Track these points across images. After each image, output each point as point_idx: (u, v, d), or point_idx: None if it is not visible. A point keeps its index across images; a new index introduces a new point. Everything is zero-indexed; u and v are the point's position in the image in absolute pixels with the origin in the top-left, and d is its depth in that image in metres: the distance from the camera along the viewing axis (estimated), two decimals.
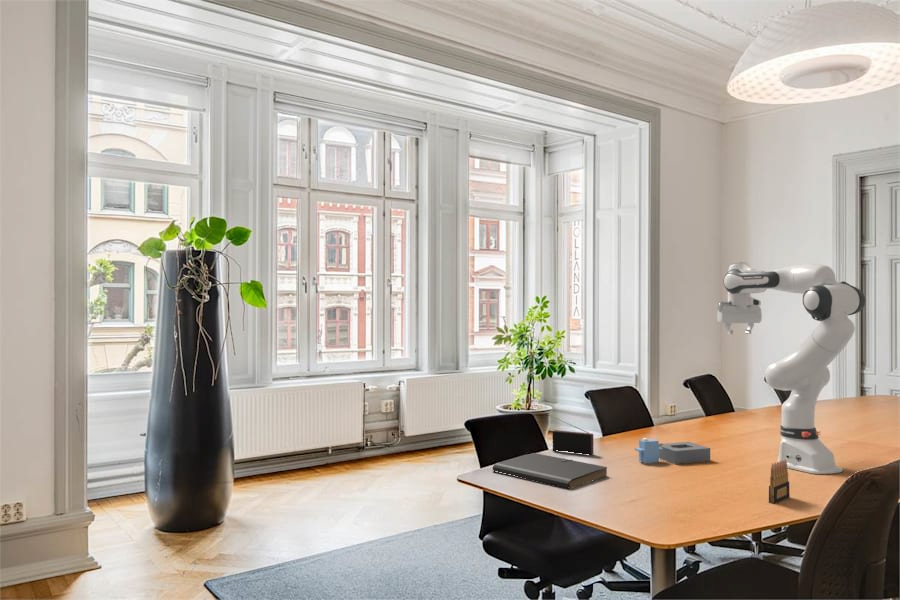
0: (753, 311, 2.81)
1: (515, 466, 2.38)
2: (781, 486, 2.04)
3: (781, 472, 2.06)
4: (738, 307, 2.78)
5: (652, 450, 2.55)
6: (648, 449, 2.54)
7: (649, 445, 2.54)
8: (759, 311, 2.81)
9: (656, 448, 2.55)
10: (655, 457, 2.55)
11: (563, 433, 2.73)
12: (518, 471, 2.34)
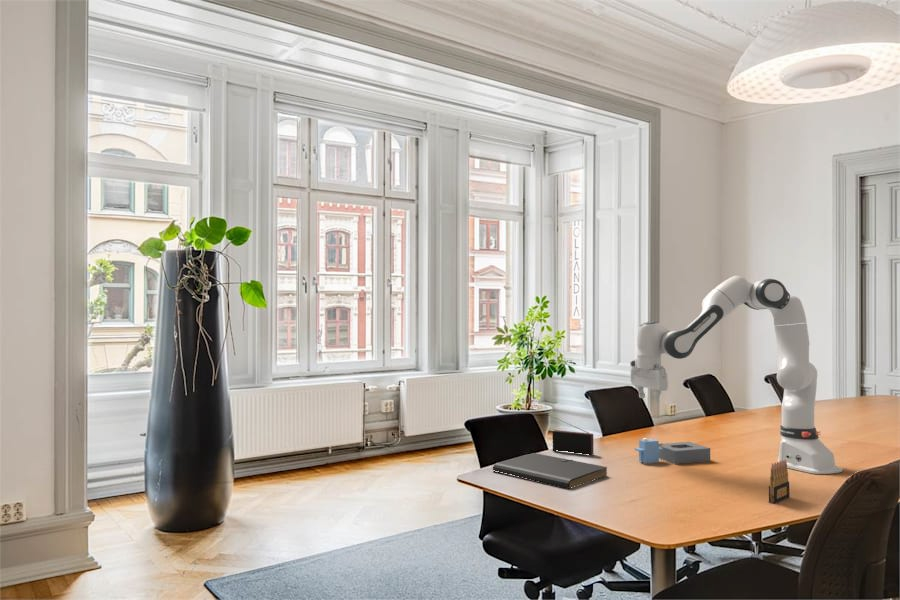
0: None
1: (515, 466, 2.38)
2: (781, 486, 2.04)
3: (781, 472, 2.06)
4: None
5: (652, 450, 2.55)
6: (648, 449, 2.54)
7: (649, 445, 2.54)
8: None
9: (656, 448, 2.55)
10: (655, 457, 2.55)
11: (563, 433, 2.73)
12: (518, 471, 2.34)
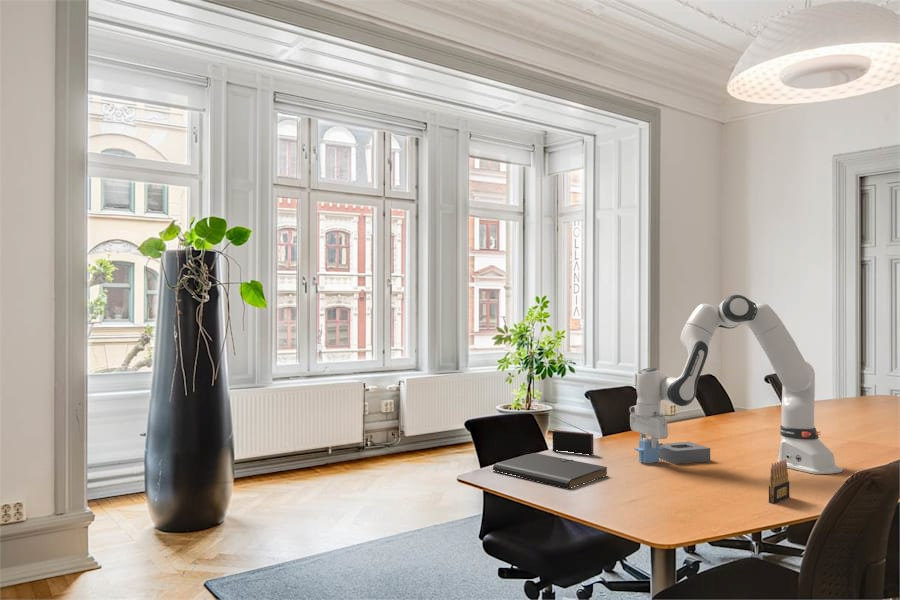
0: None
1: (515, 466, 2.38)
2: (781, 486, 2.04)
3: (781, 472, 2.06)
4: None
5: (652, 450, 2.55)
6: (648, 449, 2.54)
7: (649, 445, 2.54)
8: None
9: (656, 448, 2.55)
10: (655, 456, 2.55)
11: (563, 433, 2.73)
12: (518, 471, 2.34)
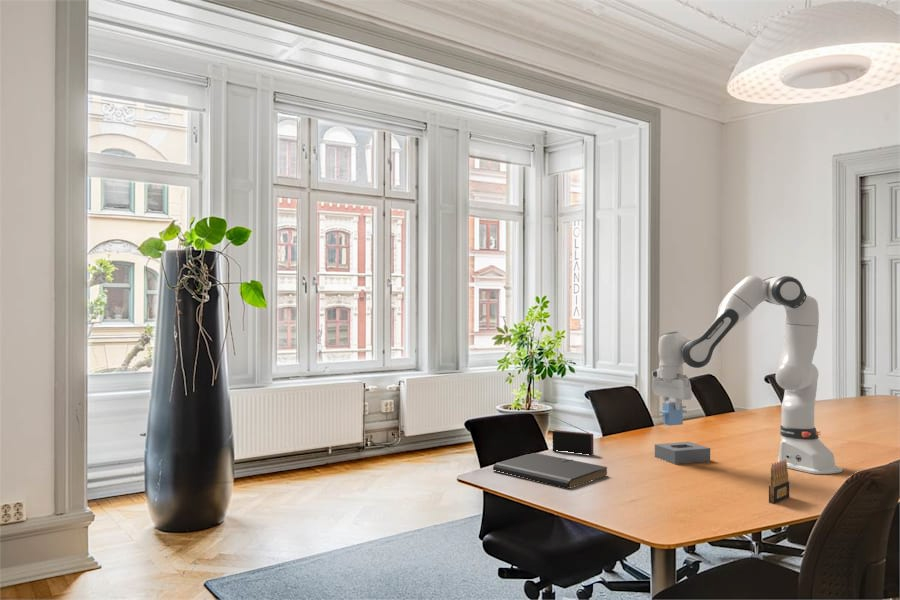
0: None
1: (515, 466, 2.38)
2: (781, 486, 2.04)
3: (781, 472, 2.06)
4: None
5: (676, 412, 2.57)
6: (672, 411, 2.57)
7: (673, 407, 2.57)
8: None
9: (680, 410, 2.58)
10: (679, 418, 2.57)
11: (563, 433, 2.73)
12: (518, 471, 2.34)
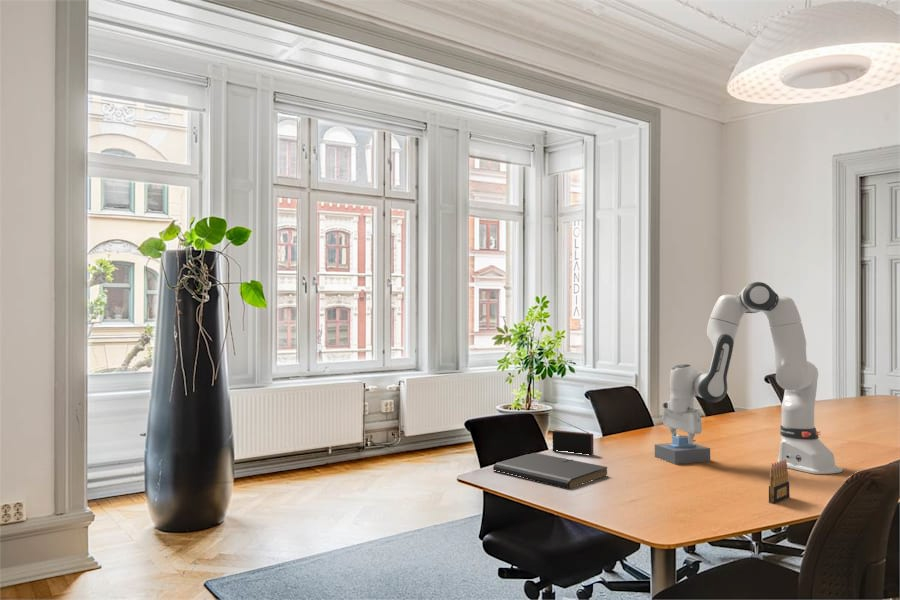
0: None
1: (515, 466, 2.39)
2: (781, 486, 2.04)
3: (781, 472, 2.06)
4: None
5: (685, 446, 2.59)
6: (682, 445, 2.58)
7: (683, 441, 2.59)
8: None
9: (689, 444, 2.59)
10: None
11: (563, 433, 2.73)
12: (518, 471, 2.34)
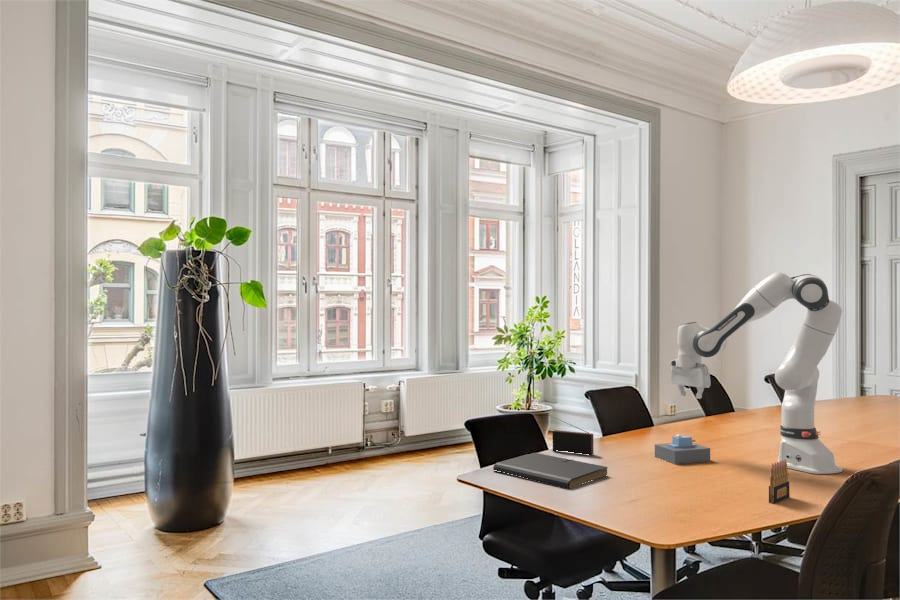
0: None
1: (516, 466, 2.39)
2: (781, 486, 2.04)
3: (781, 472, 2.06)
4: None
5: (685, 446, 2.59)
6: (682, 445, 2.58)
7: (683, 441, 2.59)
8: None
9: (689, 444, 2.59)
10: None
11: (563, 433, 2.73)
12: (518, 471, 2.34)
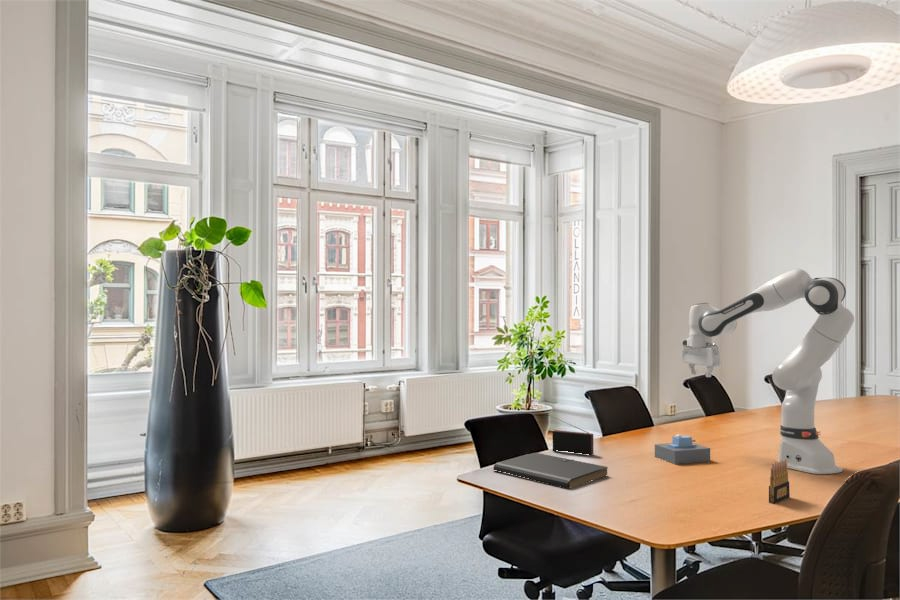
0: None
1: (516, 466, 2.39)
2: (781, 486, 2.04)
3: (781, 472, 2.06)
4: None
5: (685, 446, 2.59)
6: (682, 445, 2.58)
7: (683, 441, 2.59)
8: None
9: (689, 444, 2.59)
10: None
11: (563, 433, 2.73)
12: (518, 470, 2.34)
